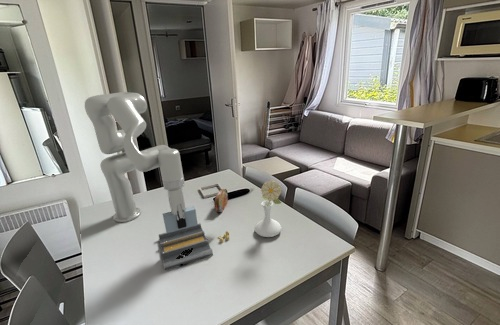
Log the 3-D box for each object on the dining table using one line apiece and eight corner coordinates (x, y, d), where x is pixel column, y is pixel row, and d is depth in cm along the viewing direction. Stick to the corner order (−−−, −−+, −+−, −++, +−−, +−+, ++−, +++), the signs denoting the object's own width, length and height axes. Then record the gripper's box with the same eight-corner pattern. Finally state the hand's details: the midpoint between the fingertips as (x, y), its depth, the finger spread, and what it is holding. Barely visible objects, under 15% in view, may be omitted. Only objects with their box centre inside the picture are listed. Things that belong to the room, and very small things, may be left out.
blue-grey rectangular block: (165, 229, 103) (162, 213, 101) (196, 220, 107) (193, 205, 105) (166, 233, 101) (163, 217, 98) (197, 224, 105) (195, 209, 102)
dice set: (228, 234, 115) (228, 230, 114) (232, 241, 110) (231, 237, 110) (217, 237, 114) (216, 233, 113) (220, 244, 109) (219, 240, 108)
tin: (220, 215, 129) (218, 200, 126) (214, 215, 129) (212, 199, 126) (229, 200, 142) (227, 186, 139) (223, 200, 143) (221, 185, 140)
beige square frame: (199, 189, 156) (199, 187, 156) (218, 185, 160) (218, 183, 160) (204, 198, 146) (203, 195, 145) (224, 193, 150) (224, 190, 149)
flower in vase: (249, 232, 114) (245, 180, 105) (266, 221, 122) (264, 170, 113) (273, 245, 106) (271, 188, 97) (289, 231, 113) (289, 178, 105)
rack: (159, 239, 113) (158, 234, 112) (201, 227, 120) (200, 223, 119) (164, 270, 96) (163, 264, 95) (212, 255, 102) (212, 249, 101)
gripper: (161, 176, 103) (169, 217, 110) (165, 193, 89) (174, 239, 95) (180, 172, 106) (187, 213, 112) (188, 188, 92) (195, 233, 98)
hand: (181, 224), depth 104 cm, fingers closed on blue-grey rectangular block, 3 cm apart
